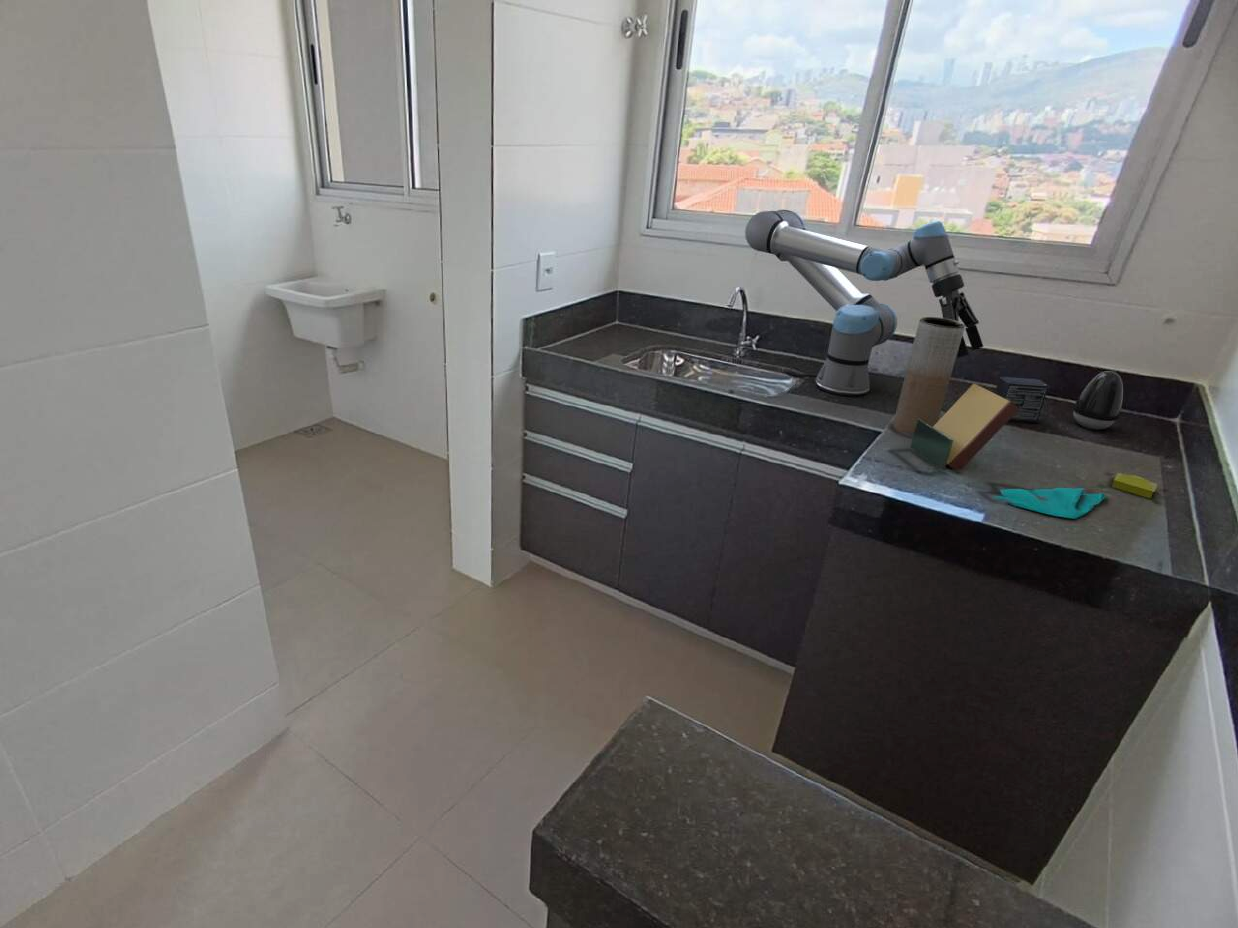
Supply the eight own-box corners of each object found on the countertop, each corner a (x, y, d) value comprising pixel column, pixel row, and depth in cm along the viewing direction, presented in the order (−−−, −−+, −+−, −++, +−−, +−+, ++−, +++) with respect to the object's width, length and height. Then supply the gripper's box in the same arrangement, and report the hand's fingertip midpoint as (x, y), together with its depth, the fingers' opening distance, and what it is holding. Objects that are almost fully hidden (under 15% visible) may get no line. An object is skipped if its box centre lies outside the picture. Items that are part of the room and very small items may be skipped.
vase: (907, 439, 161) (937, 327, 149) (884, 423, 169) (911, 316, 157) (942, 438, 163) (974, 327, 151) (918, 422, 171) (947, 317, 159)
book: (949, 465, 144) (1011, 401, 139) (916, 443, 154) (973, 383, 150) (957, 472, 145) (1019, 409, 140) (924, 449, 156) (981, 390, 151)
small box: (1026, 414, 182) (1039, 378, 177) (1037, 423, 176) (1051, 386, 171) (987, 411, 182) (998, 375, 178) (997, 420, 177) (1009, 382, 172)
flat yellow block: (1102, 486, 142) (1107, 474, 141) (1109, 474, 149) (1114, 462, 147) (1158, 503, 136) (1164, 491, 135) (1163, 489, 143) (1169, 478, 141)
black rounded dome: (1116, 426, 177) (1138, 372, 170) (1109, 436, 170) (1132, 380, 163) (1072, 415, 183) (1092, 363, 176) (1064, 424, 176) (1085, 370, 169)
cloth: (998, 513, 129) (1002, 503, 128) (972, 481, 141) (975, 472, 140) (1137, 526, 127) (1142, 516, 126) (1098, 493, 139) (1102, 483, 138)
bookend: (921, 474, 143) (931, 440, 140) (891, 450, 154) (899, 419, 150) (943, 473, 144) (953, 439, 141) (911, 450, 155) (920, 418, 151)
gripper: (944, 276, 168) (972, 354, 168) (973, 269, 185) (997, 340, 186) (915, 288, 173) (942, 364, 174) (945, 281, 190) (970, 350, 191)
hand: (971, 352), depth 180 cm, fingers open, 13 cm apart
